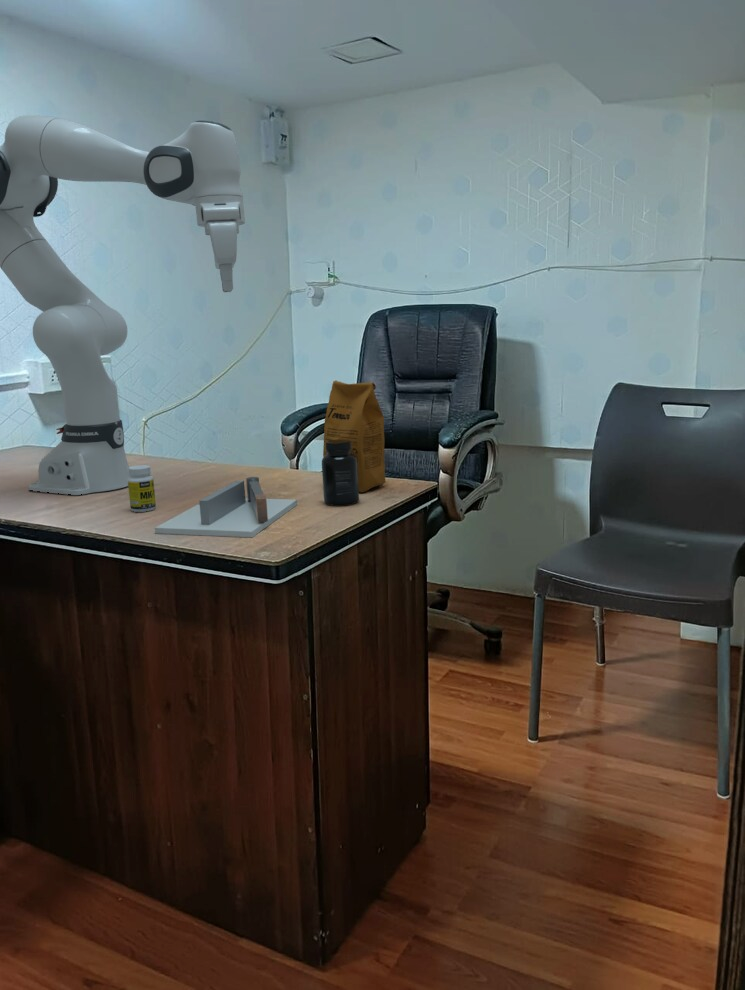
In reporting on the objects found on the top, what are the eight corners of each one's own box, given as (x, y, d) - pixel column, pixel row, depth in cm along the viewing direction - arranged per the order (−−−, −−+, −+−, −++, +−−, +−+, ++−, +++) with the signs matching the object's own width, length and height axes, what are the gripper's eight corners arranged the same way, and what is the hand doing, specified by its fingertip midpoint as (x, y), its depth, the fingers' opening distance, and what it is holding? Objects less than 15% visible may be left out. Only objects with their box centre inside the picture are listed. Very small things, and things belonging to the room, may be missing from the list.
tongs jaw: (258, 522, 138) (256, 499, 137) (250, 501, 153) (248, 480, 152) (267, 521, 138) (266, 498, 137) (259, 500, 153) (257, 480, 152)
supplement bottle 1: (142, 513, 152) (138, 470, 150) (125, 511, 154) (120, 468, 152) (161, 507, 156) (157, 465, 154) (144, 505, 158) (140, 463, 156)
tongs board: (155, 533, 138) (152, 502, 137) (211, 502, 159) (209, 475, 158) (252, 537, 134) (249, 505, 132) (297, 504, 154) (295, 476, 153)
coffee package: (350, 479, 175) (345, 377, 170) (392, 486, 167) (389, 380, 162) (317, 487, 168) (311, 382, 163) (359, 495, 160) (355, 385, 155)
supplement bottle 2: (363, 498, 157) (361, 438, 154) (351, 507, 151) (349, 444, 148) (331, 497, 159) (328, 437, 157) (318, 505, 153) (314, 443, 150)
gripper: (203, 222, 159) (211, 293, 162) (202, 208, 139) (211, 290, 142) (236, 220, 160) (242, 292, 163) (239, 207, 140) (246, 288, 143)
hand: (227, 291), depth 153 cm, fingers open, 8 cm apart
